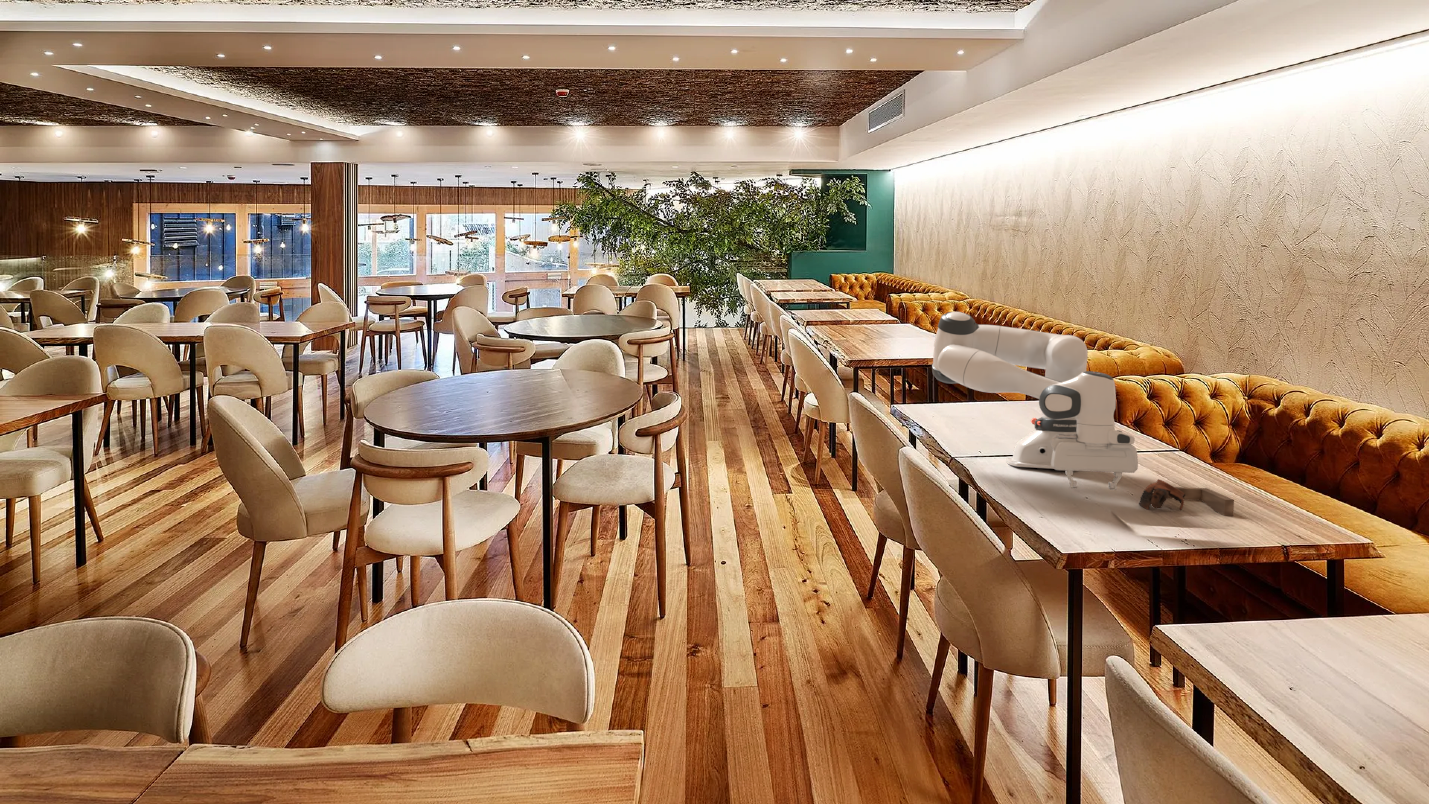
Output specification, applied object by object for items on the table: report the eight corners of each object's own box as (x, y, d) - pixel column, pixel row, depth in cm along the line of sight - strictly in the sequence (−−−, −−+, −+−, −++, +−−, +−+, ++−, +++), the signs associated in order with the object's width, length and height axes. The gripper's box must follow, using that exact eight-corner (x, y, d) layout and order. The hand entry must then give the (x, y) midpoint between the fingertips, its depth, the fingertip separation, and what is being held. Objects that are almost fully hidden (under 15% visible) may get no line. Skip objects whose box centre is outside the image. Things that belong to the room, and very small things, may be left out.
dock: (1175, 513, 201) (1176, 497, 200) (1152, 501, 216) (1153, 486, 216) (1233, 516, 198) (1234, 499, 198) (1206, 503, 214) (1206, 488, 214)
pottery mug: (1136, 503, 213) (1154, 477, 211) (1172, 524, 208) (1191, 497, 207) (1133, 501, 203) (1152, 473, 201) (1170, 523, 198) (1190, 494, 196)
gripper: (1054, 435, 206) (1052, 489, 207) (1141, 437, 202) (1138, 492, 203) (1049, 432, 212) (1047, 484, 213) (1133, 434, 209) (1130, 487, 210)
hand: (1092, 488), depth 208 cm, fingers open, 8 cm apart
